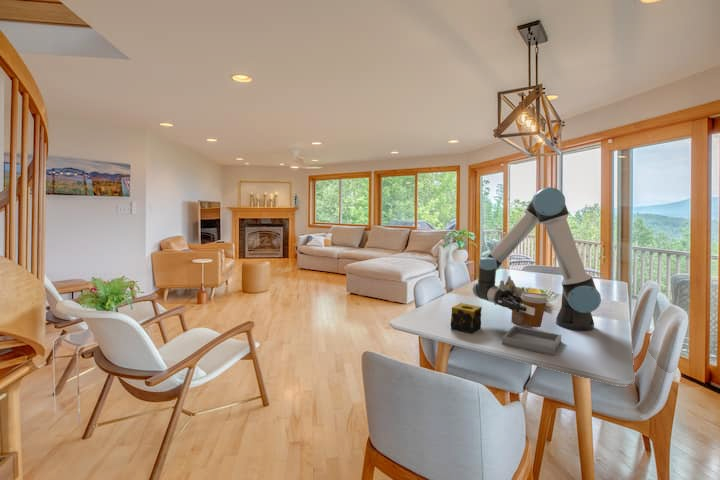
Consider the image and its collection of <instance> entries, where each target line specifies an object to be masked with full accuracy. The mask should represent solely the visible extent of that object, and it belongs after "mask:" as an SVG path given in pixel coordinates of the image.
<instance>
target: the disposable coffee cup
mask: <svg viewBox="0 0 720 480" xmlns="http://www.w3.org/2000/svg"><path fill="white" fill-rule="evenodd" d="M521 299H522V304H524V305H527V306H530V307H533V308H535V315H530V314H528V313H525V312H522V313H523V324H524V326H526V327H527V328H528V327H529V328H541V326H542V322H543V319H544V318H543V317H544V313H545V312H544V309H545V304H546V305H547V302H548V299H547V296H546V295H544V294H542V293H536V292H528V293H522V296H521Z"/></svg>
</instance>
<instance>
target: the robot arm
mask: <svg viewBox="0 0 720 480" xmlns="http://www.w3.org/2000/svg"><path fill="white" fill-rule="evenodd" d="M569 215H570V214H569V210H568V208H567V205H566V196H565V195H564V193H563V192H562V191H561V190H559V188H555V187H544V188H540V189H539V190H538V191H537V192H536V193H535V194H534V195H533V197H532V199H531V201H530V202H529V204H528V205H527V207H526V208H525V209H524V213H523V214H522V216H521V217H520V218H519V219H518V220H517V221H516V223H515V224H514V225H513V226H512V227H511V228H510V230H508V232H507V233H506V234H505V235H504V237H503V238H502V239H501V240H500V241H499V242H498V243H497V245H496V246H495V247H494V248H493V249H492V250H491V251H490V253H489V254H488V255H487V256H485V257H480V258H479V263H478V281H477V282H475V283H474V284H473V286H472V293H473V295H474V296H475V297H478V298H479V299H481V300H484V301H487V302H490V303H493V304H494V305H495V306H496V305H498V306H500V307H502V308H507V309H509V310H511V311H512V310H514V309H516V312H519V310H520V311H522V312H525V313H528V314H530V315H535V308H533V307H530V306H527V305H524V304H522V299H521V297H518V296H515V295H513V293H512V292H511V291H510V290H507V289H503V288H500V287H499V286H496V276H497V270H498V269H499V268H500V267H501V266H502V264H503V263H504V262H505V261H506V260H507V259H508V258H509V257H510V255H512V253H513V252H514V251H515V250H516V249H517V248H518V247H519V246H520V245H521V243H522V242H523V241H524V240H525V239H526V238H527V237H528V236H529V234H530V233H532V231H533V230H534V229H535V228H536V226H537V225H538V224H541V225H543V226H544V227H545V230H546V233H547V235H548V238H549V241H550V243H551V247H552V249H553V252H554V256H555V258H556V261H557V263H558V266H559V269H560V271H561V275H562V277H563V279H562V280H561V282H560V283H561V285H562V294H561V306H560V307H561V308H560V309H559V311H558V313H557V315H556V317H555V323H556V325H558V326H559V327H563V328H565V329H570V330H576V331H593V330H594V329H595V322H594V319H593V315H592V312H594V311H595V310H597V309H598V308H599V306H600V305H601V302H602V296H601V293H600V291H598V290H597V287H596V284H595V281H594V278H593V276H592V275H591V274H589V273H587V272H586V269H585V266H584V264H583V260H582V258H581V255H580V253H579V250H578V248H577V247H578V246H577V245H576V241H575V240H574V239H575V238H574V236H573V234H572V230H571V228H570V225H569V223H568V222H569V221H568V220H567V219H568V217H569ZM520 301H521V303H520ZM553 309H554V306H551V305H548V304H547V303H546V304H545V309H544V313H548V314H553V312H554V311H553Z"/></svg>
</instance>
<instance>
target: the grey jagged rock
mask: <svg viewBox="0 0 720 480" xmlns="http://www.w3.org/2000/svg"><path fill="white" fill-rule="evenodd" d="M498 287H500V288H503V289H507V290H510V291H511V292H512V293H513V295H515V296H518V297H521V296H522V293H529V292H528V291H526V290H525V287H524V286H523V287H520V286H519V287H518V286H516V284H515V283H514V281H513V279H512V278H511V276H510V275H508V276H507V280H506V282H505V281H504V280H502V279H501V280H500V281H499V285H498ZM520 302H521V301H520Z"/></svg>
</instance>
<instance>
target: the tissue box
mask: <svg viewBox="0 0 720 480" xmlns="http://www.w3.org/2000/svg"><path fill="white" fill-rule="evenodd" d="M482 308H483V307H482V306H478V305H473V304H468V303H465V302H460V303H458V304H457V305H454V306H452V307H451V319H450V330H453V331H457V332H461V333H465V334H470V335H473V334H475V333H476V332H477V331H479V330H481V329H482Z"/></svg>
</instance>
